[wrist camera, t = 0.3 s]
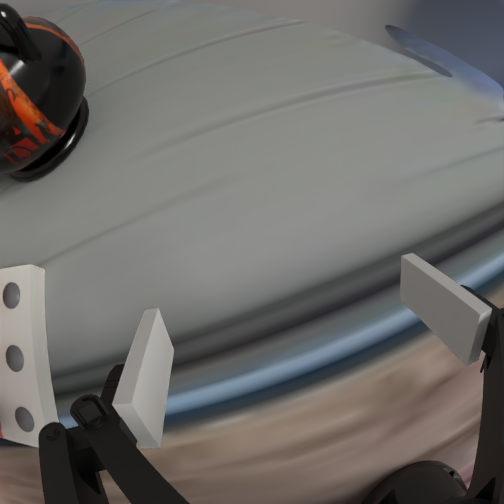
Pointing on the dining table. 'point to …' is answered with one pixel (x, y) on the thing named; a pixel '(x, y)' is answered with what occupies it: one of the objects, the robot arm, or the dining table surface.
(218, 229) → the dining table surface
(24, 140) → the amphora vase
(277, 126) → the dining table surface
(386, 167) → the dining table surface
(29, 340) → the power strip
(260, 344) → the dining table surface
